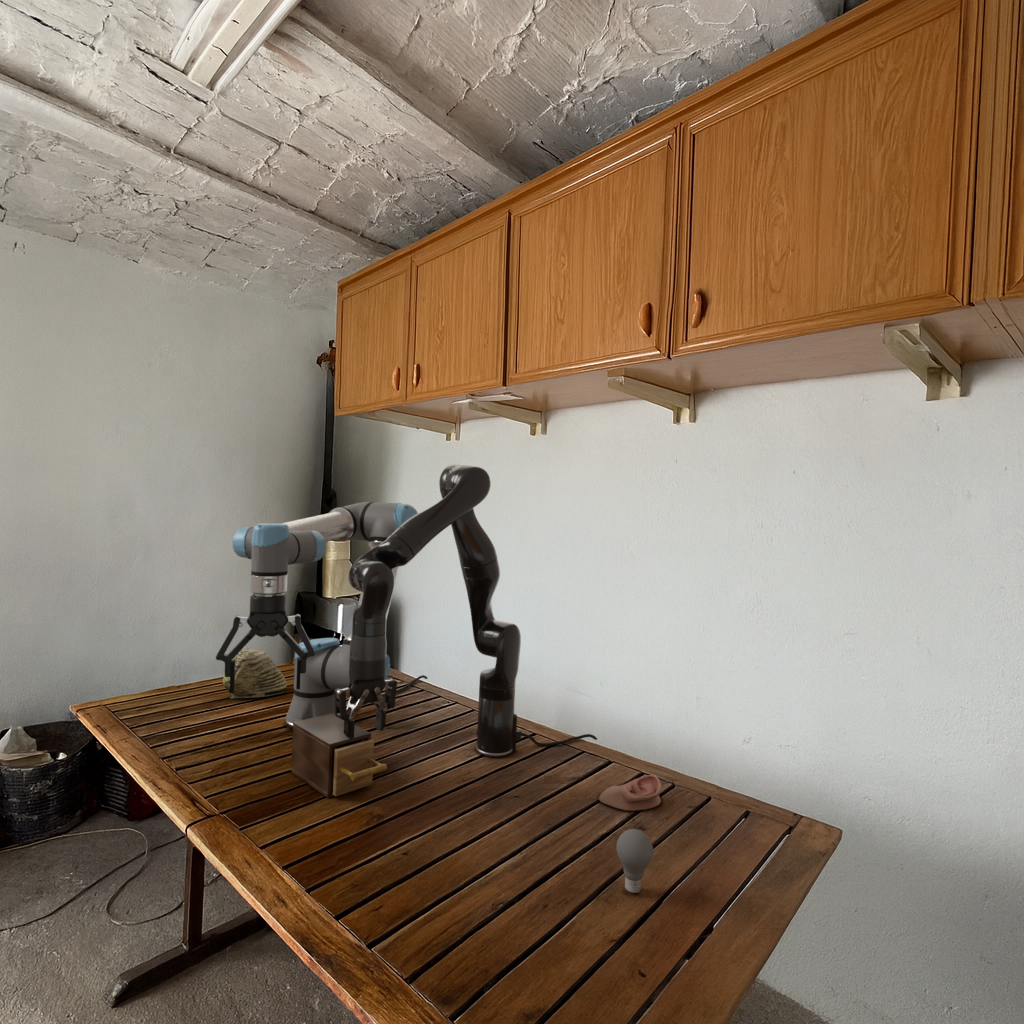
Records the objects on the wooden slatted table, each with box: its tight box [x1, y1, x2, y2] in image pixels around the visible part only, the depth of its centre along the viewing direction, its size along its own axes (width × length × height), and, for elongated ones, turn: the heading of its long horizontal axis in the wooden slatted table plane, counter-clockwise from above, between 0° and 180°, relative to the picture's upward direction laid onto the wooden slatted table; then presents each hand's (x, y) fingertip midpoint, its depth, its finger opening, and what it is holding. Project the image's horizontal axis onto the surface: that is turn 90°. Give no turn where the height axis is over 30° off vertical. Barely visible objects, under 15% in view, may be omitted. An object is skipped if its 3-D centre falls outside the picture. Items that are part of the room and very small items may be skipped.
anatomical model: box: [598, 774, 663, 812], centre depth 139 cm, size 13×4×12 cm
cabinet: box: [290, 713, 372, 799], centre depth 143 cm, size 17×10×11 cm, turn 45°
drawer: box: [331, 739, 388, 797], centre depth 139 cm, size 21×9×10 cm, turn 45°
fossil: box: [222, 646, 288, 699], centre depth 198 cm, size 9×18×15 cm, turn 132°
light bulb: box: [615, 828, 654, 894], centre depth 106 cm, size 6×6×10 cm
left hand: (265, 689), depth 140 cm, fingers open, 13 cm apart
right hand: (364, 733), depth 133 cm, fingers open, 6 cm apart
